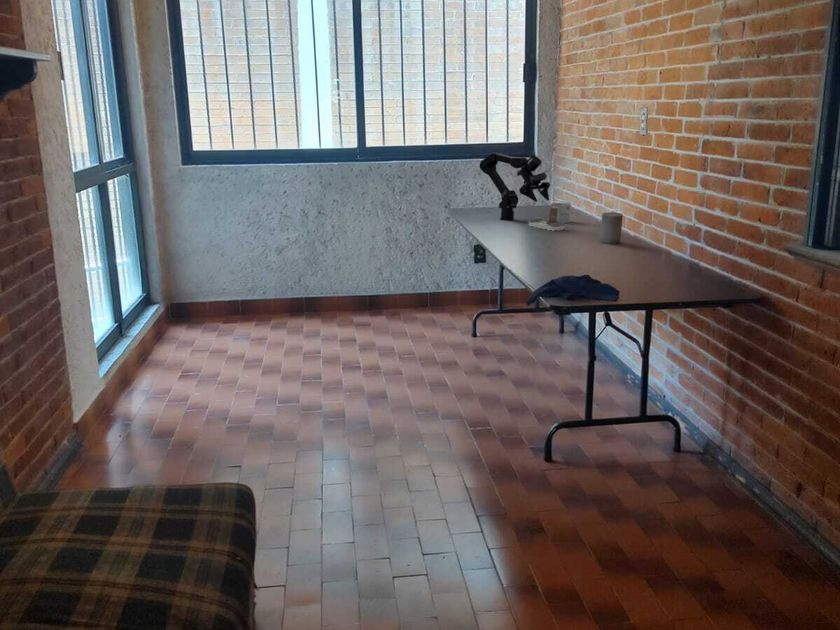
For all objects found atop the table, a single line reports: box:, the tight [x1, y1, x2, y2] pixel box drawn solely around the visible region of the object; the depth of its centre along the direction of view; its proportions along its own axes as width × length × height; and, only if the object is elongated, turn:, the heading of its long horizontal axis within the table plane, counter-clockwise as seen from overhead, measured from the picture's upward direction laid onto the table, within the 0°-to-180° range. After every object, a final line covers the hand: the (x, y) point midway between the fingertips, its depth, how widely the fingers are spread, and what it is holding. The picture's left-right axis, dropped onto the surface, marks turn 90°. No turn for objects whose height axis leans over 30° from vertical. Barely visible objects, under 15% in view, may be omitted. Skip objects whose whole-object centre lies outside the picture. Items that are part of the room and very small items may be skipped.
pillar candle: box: [599, 211, 623, 245], centre depth 362 cm, size 10×10×15 cm
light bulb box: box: [550, 200, 572, 223], centre depth 416 cm, size 11×7×11 cm, turn 84°
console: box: [528, 216, 566, 232], centre depth 396 cm, size 17×9×4 cm, turn 39°
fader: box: [546, 203, 558, 225], centre depth 392 cm, size 4×5×11 cm
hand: (542, 200), depth 396 cm, fingers open, 9 cm apart
